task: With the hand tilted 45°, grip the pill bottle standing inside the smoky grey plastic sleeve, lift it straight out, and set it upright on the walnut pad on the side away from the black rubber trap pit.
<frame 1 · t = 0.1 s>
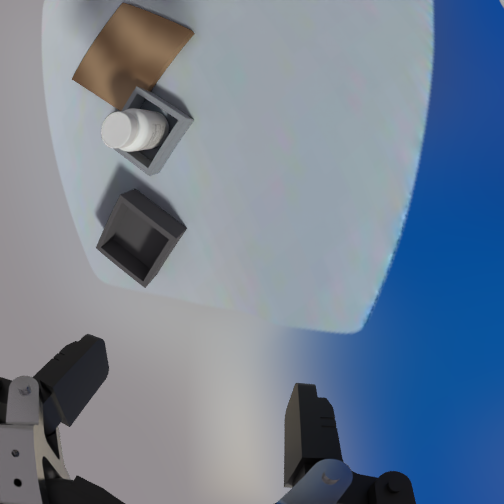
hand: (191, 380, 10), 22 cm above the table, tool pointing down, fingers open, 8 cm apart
sleeve: (152, 130, 28), on the table
walnut pad: (128, 55, 24), on the table
trap pit: (145, 233, 33), on the table
pill bottle: (153, 130, 28), resting in sleeve
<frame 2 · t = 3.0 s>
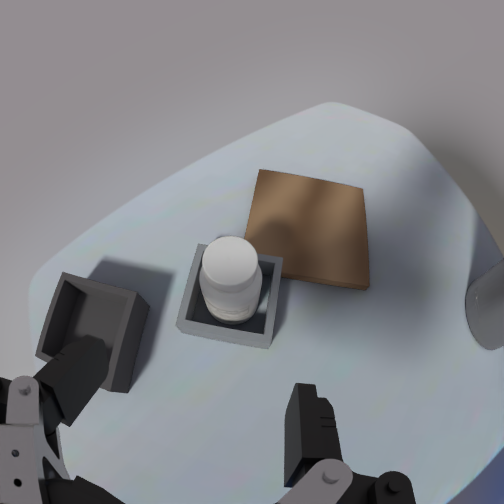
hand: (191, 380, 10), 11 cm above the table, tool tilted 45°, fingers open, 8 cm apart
sleeve: (232, 301, 24), on the table
walnut pad: (308, 226, 28), on the table
trap pit: (99, 337, 21), on the table
pill bottle: (232, 302, 24), resting in sleeve
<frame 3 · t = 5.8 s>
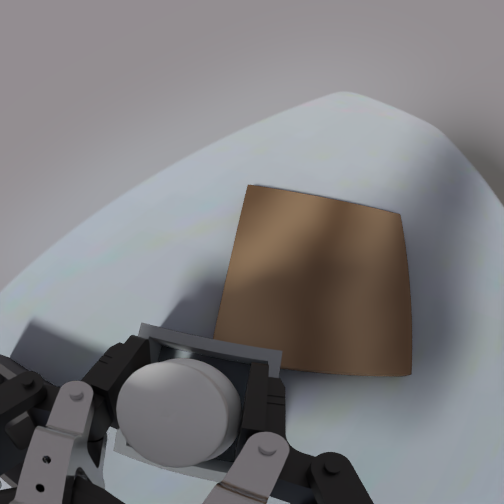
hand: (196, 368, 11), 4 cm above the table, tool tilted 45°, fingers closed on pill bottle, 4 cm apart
sleeve: (201, 406, 13), on the table
walnut pad: (323, 279, 18), on the table
trap pit: (34, 428, 11), on the table
pill bottle: (201, 406, 14), resting in sleeve, touching gripper
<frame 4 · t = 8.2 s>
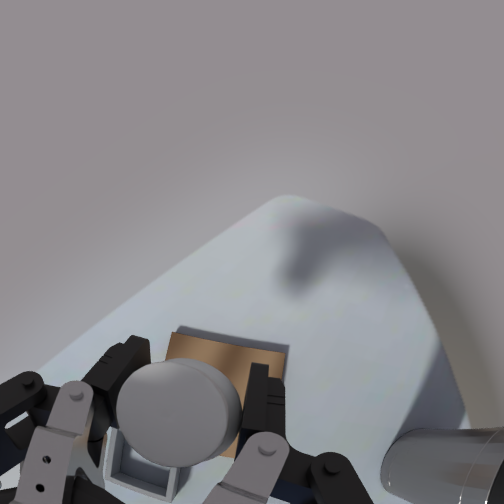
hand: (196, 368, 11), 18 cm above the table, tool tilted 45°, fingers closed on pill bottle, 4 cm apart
sleeve: (147, 459, 21), on the table
walnut pad: (217, 399, 25), on the table
pill bottle: (201, 406, 14), point 14 cm above the table, touching gripper
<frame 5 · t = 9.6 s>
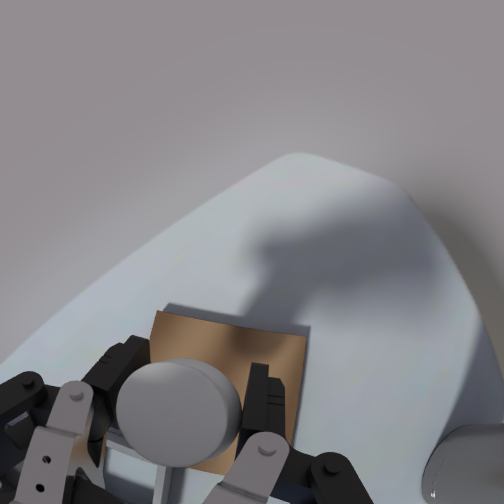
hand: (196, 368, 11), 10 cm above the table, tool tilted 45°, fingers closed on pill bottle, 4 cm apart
sleeve: (128, 475, 15), on the table
walnut pad: (216, 400, 19), on the table
trap pit: (29, 472, 13), on the table
pill bottle: (201, 406, 14), point 6 cm above the table, touching gripper
when the fingers open (6 cm above the table, at t = 10.8 s): pill bottle stays where it is, resting on walnut pad.
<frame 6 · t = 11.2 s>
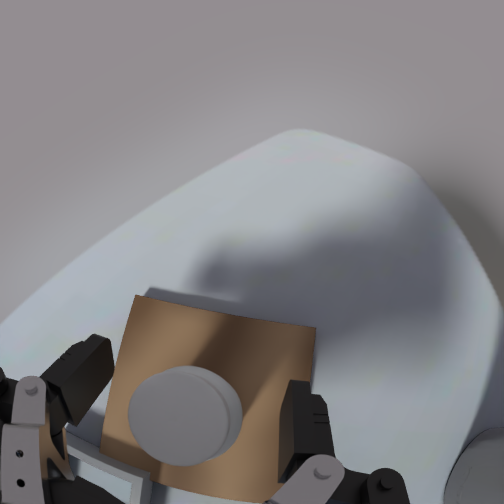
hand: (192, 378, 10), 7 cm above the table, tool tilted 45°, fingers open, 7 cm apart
sleeve: (101, 490, 11), on the table
walnut pad: (205, 405, 15), on the table
pill bottle: (204, 409, 14), point 1 cm above the table, touching walnut pad
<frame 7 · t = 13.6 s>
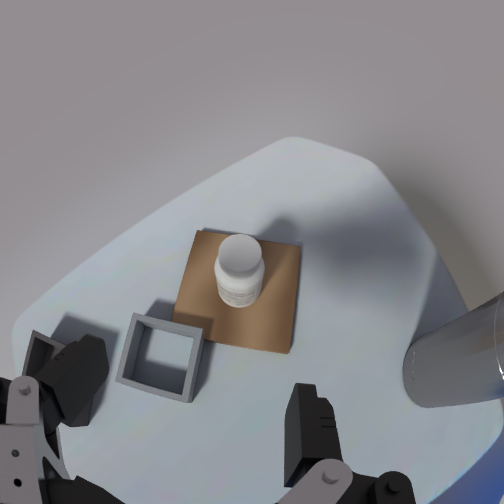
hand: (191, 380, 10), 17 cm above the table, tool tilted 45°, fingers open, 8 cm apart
sleeve: (164, 360, 26), on the table
walnut pad: (238, 290, 30), on the table
trap pit: (65, 380, 23), on the table
pill bottle: (239, 289, 29), point 1 cm above the table, touching walnut pad
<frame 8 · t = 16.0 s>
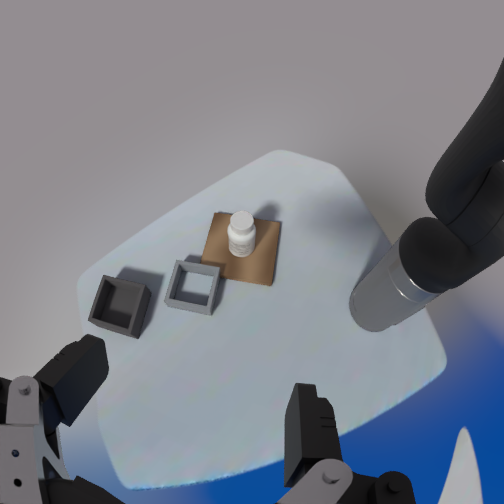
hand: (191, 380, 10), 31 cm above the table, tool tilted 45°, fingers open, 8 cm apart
sleeve: (194, 290, 44), on the table
walnut pad: (241, 248, 48), on the table
trap pit: (123, 310, 42), on the table
pill bottle: (241, 247, 48), point 1 cm above the table, touching walnut pad
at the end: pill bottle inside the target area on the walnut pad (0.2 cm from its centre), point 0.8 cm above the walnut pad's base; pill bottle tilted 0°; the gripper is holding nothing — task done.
